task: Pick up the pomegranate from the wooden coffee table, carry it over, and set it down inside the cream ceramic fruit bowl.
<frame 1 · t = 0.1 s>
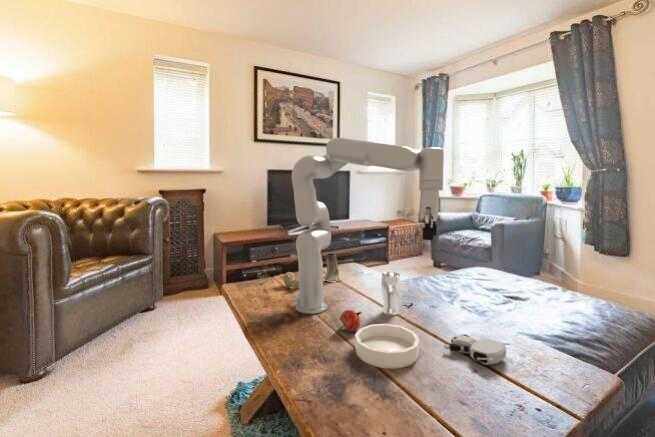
hand: (429, 237, 110), 31 cm above the table, tool pointing down, fingers open, 9 cm apart
beer glass: (390, 312, 126), on the table
robot toy: (475, 356, 94), on the table
tree stump: (331, 280, 170), on the table
fruit bowl: (386, 351, 97), on the table
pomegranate: (349, 331, 111), on the table
cat figurine: (291, 288, 158), on the table
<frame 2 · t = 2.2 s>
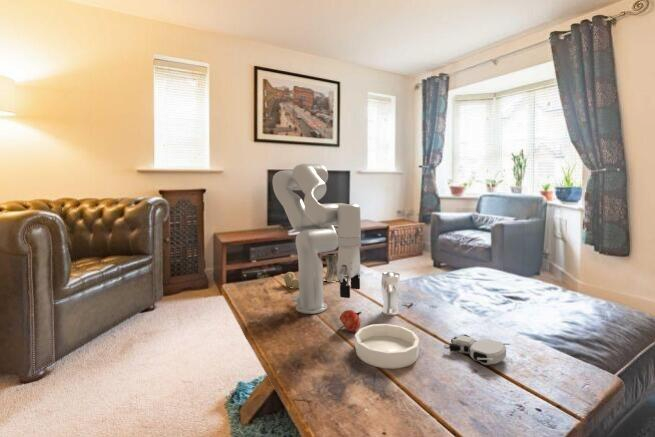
hand: (350, 292, 109), 13 cm above the table, tool pointing down, fingers open, 9 cm apart
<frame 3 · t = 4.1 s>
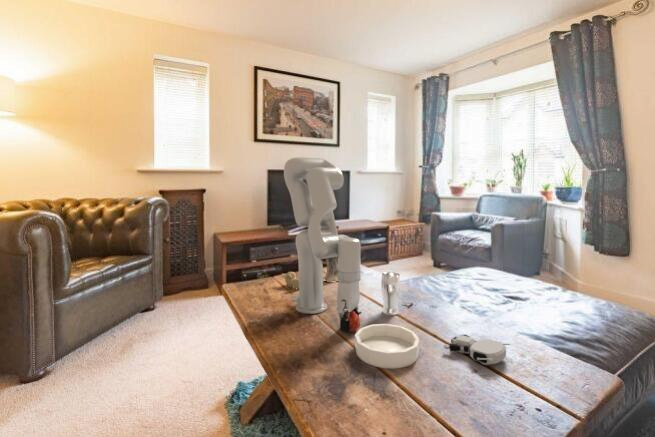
hand: (349, 326, 111), 2 cm above the table, tool pointing down, fingers closed on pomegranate, 7 cm apart
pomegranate: (349, 331, 111), on the table, touching gripper
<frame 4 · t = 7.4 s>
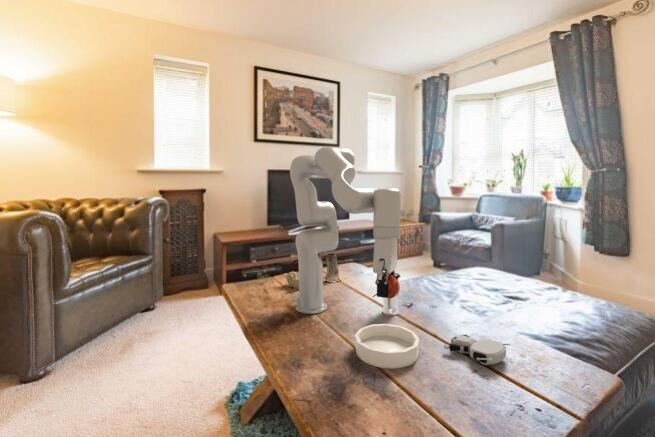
hand: (386, 292, 95), 18 cm above the table, tool pointing down, fingers closed on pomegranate, 7 cm apart
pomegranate: (386, 297, 95), point 16 cm above the table, touching gripper
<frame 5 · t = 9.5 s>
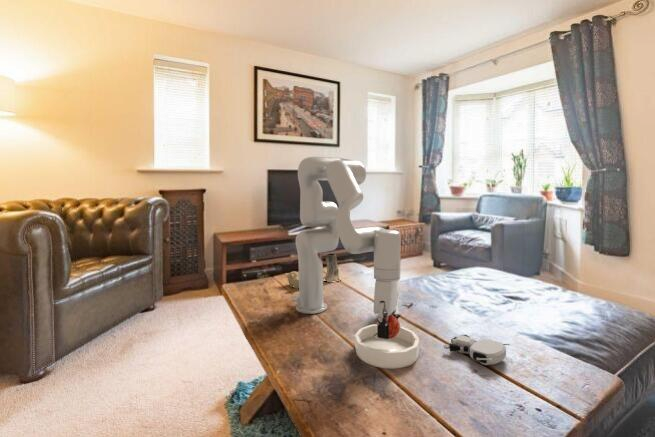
hand: (386, 331, 96), 6 cm above the table, tool pointing down, fingers closed on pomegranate, 7 cm apart
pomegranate: (386, 337, 96), point 4 cm above the table, touching gripper
when the fingers open (4 cm above the table, at t = 11.0 s): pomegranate drops 2 cm, resting on fruit bowl.
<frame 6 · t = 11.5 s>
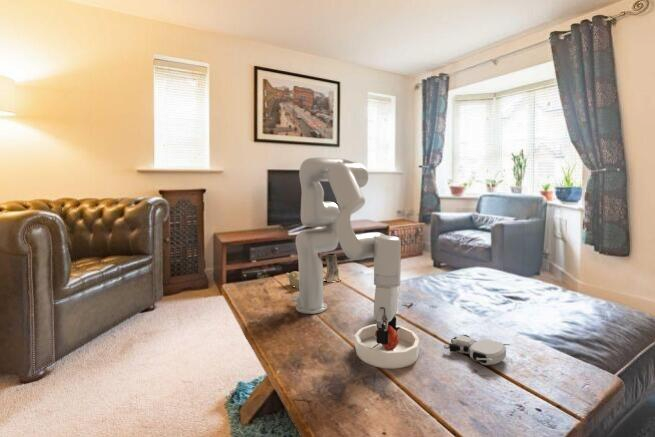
hand: (386, 336, 96), 5 cm above the table, tool pointing down, fingers open, 9 cm apart
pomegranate: (386, 349, 97), point 1 cm above the table, touching fruit bowl
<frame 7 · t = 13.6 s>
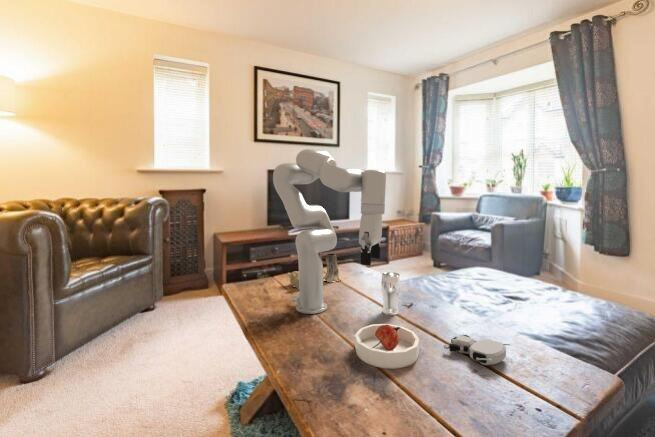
hand: (370, 261, 107), 24 cm above the table, tool pointing down, fingers open, 9 cm apart
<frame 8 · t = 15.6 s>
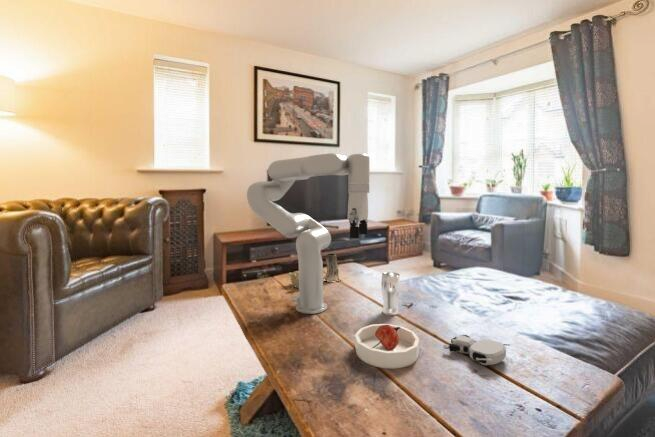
hand: (358, 235, 120), 30 cm above the table, tool pointing down, fingers open, 9 cm apart
at the end: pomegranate inside the target area on the fruit bowl (0.2 cm from its centre), point 0.8 cm above the fruit bowl's base; the gripper is holding nothing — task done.
